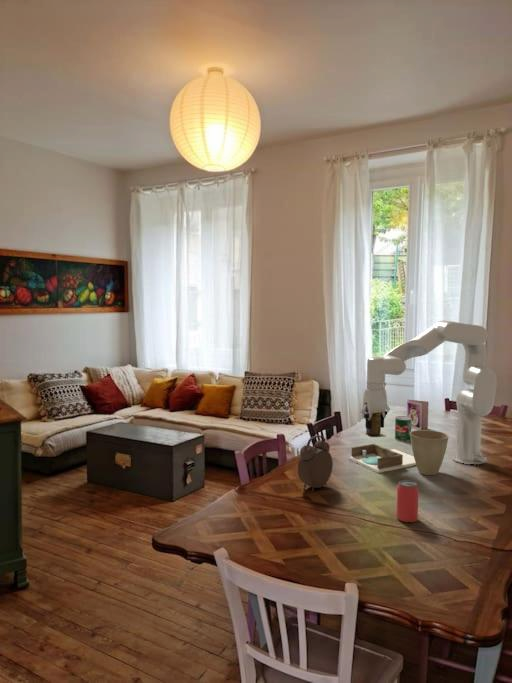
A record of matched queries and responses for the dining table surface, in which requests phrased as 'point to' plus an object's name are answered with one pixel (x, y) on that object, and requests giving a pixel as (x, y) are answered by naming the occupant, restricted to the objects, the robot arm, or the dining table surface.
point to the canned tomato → (402, 428)
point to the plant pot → (428, 450)
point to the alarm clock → (315, 463)
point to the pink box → (418, 413)
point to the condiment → (375, 426)
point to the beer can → (407, 501)
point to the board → (372, 459)
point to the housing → (388, 456)
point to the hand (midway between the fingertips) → (374, 427)
